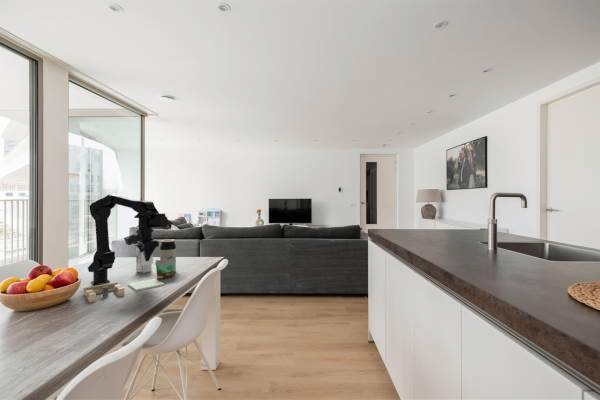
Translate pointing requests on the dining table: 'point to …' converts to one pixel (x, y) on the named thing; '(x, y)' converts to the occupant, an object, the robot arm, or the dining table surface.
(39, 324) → the dining table surface
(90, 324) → the dining table surface
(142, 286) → the board
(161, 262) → the food container
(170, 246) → the travel mug
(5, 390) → the dining table surface
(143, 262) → the steel collar
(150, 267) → the syrup box
